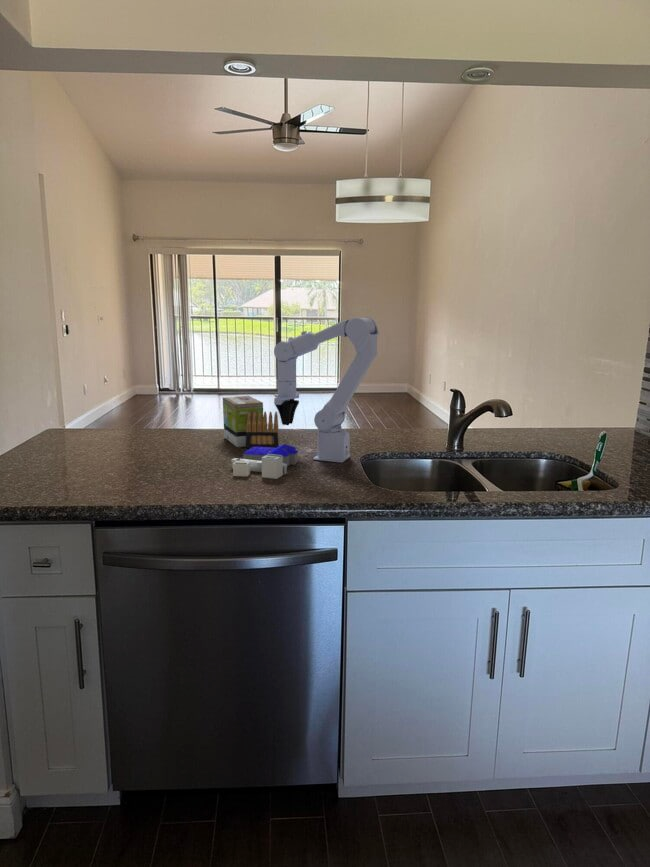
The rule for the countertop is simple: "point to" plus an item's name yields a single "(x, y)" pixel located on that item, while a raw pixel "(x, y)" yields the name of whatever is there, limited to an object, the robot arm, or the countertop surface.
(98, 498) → the countertop surface
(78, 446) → the countertop surface
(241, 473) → the block
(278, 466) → the block
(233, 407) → the tea box
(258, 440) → the ammunition clip
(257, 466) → the rail
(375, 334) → the robot arm
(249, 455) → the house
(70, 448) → the countertop surface
